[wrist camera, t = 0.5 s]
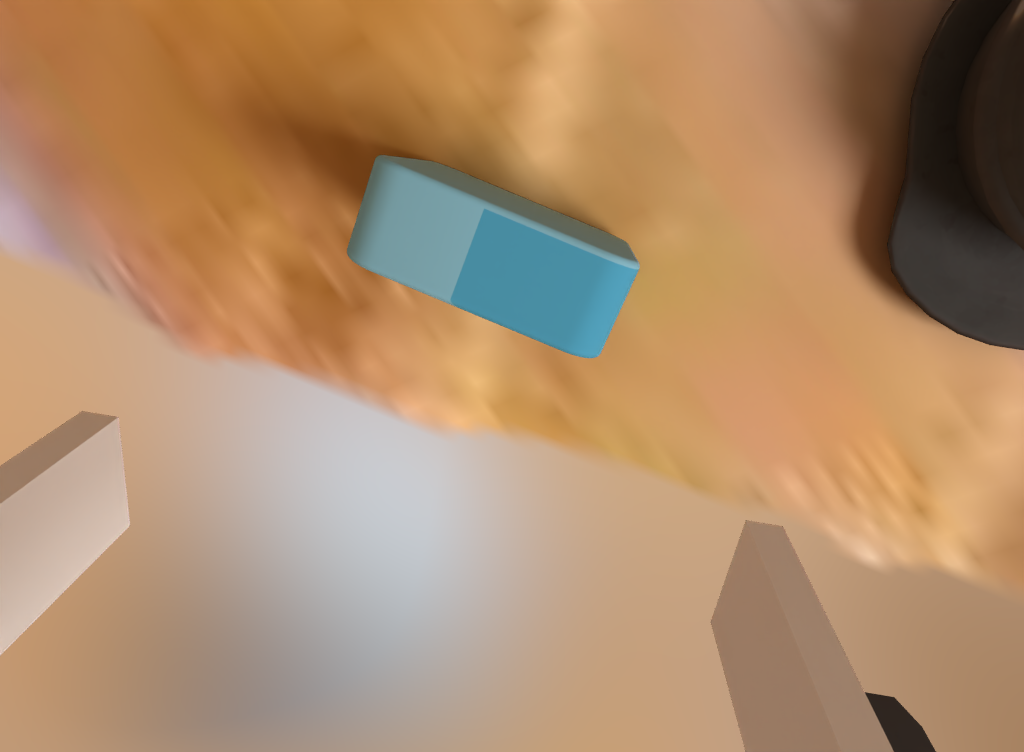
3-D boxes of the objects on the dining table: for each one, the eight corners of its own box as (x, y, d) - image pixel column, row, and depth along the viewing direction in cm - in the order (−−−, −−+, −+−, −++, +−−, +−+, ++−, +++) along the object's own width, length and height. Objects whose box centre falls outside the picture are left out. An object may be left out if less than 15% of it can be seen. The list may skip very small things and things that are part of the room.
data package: (408, 235, 39) (333, 257, 28) (434, 160, 38) (366, 151, 27) (596, 313, 39) (598, 367, 28) (628, 241, 38) (644, 267, 27)
